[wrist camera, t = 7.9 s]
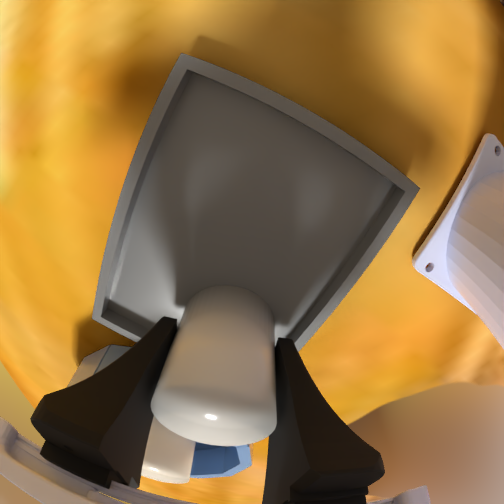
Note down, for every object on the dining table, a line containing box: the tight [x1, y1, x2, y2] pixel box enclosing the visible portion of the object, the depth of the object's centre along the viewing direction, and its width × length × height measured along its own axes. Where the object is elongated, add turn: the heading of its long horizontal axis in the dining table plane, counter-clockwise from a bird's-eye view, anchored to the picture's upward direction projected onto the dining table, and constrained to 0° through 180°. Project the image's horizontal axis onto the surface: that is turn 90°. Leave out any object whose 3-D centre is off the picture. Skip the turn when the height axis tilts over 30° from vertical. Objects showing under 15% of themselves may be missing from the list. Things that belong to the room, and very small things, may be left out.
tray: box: [92, 53, 420, 352], centre depth 12 cm, size 10×13×1 cm
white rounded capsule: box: [141, 416, 196, 483], centre depth 14 cm, size 4×4×6 cm
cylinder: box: [151, 285, 277, 446], centre depth 11 cm, size 4×4×6 cm
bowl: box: [67, 345, 253, 478], centre depth 17 cm, size 14×14×4 cm
